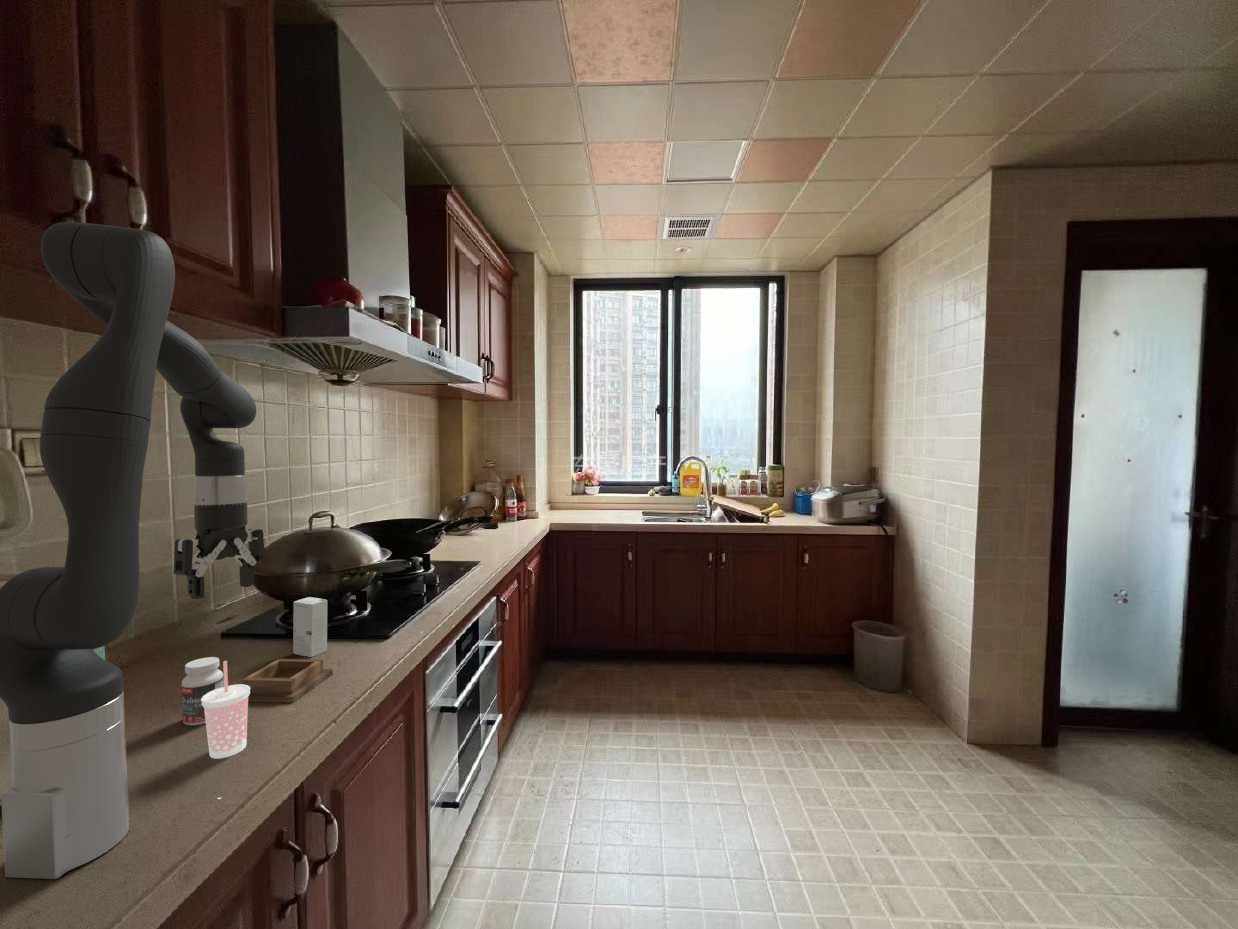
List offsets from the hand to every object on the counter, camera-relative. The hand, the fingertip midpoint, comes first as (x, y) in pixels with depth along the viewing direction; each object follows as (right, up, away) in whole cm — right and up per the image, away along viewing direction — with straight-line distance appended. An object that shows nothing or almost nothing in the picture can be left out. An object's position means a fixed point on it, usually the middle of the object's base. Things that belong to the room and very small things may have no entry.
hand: (223, 592), depth 93 cm
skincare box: (0, -21, +27) cm, 34 cm away
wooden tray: (+5, -21, +10) cm, 24 cm away
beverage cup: (+10, -22, -12) cm, 27 cm away
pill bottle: (-2, -22, -2) cm, 22 cm away
